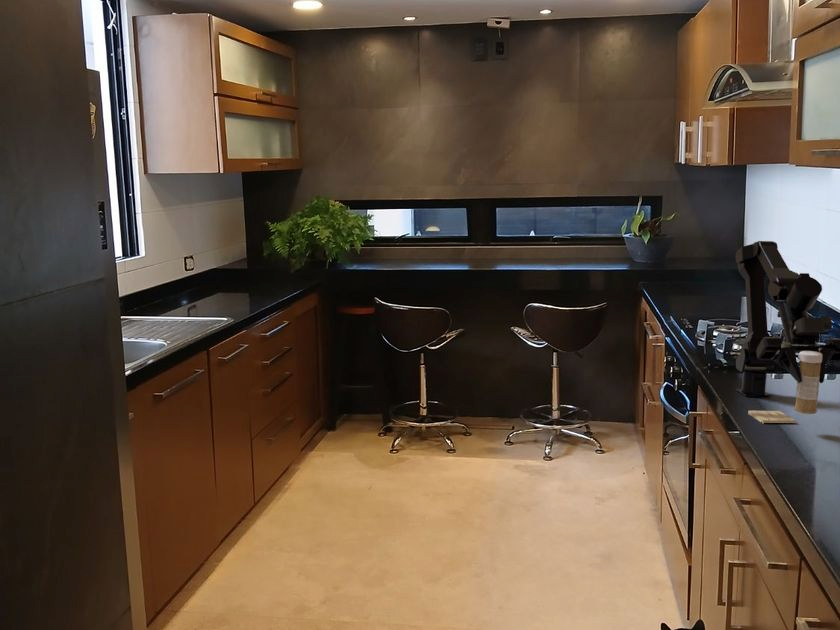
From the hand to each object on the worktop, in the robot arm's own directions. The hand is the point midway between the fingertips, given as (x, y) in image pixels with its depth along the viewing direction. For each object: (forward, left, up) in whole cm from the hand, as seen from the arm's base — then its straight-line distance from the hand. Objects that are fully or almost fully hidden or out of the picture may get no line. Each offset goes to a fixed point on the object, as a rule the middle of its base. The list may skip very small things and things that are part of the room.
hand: (811, 382), depth 181 cm
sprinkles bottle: (-1, 0, -7) cm, 7 cm away
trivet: (-12, -2, -12) cm, 17 cm away
